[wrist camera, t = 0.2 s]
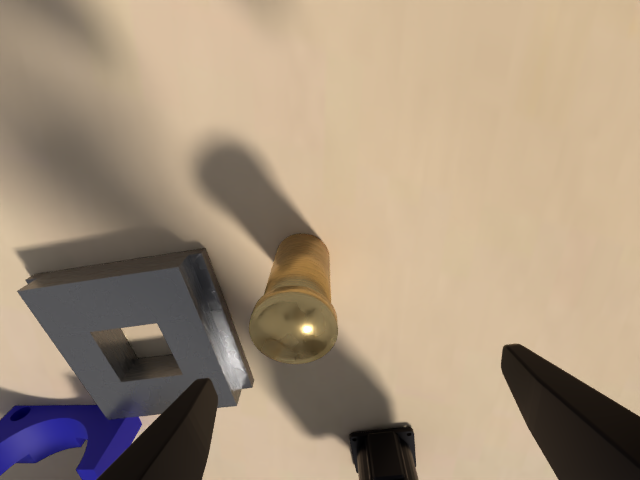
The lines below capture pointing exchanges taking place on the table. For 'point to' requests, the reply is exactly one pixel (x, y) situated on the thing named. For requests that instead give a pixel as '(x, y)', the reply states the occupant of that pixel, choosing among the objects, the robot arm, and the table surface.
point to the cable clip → (64, 436)
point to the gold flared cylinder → (296, 304)
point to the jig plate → (140, 309)
